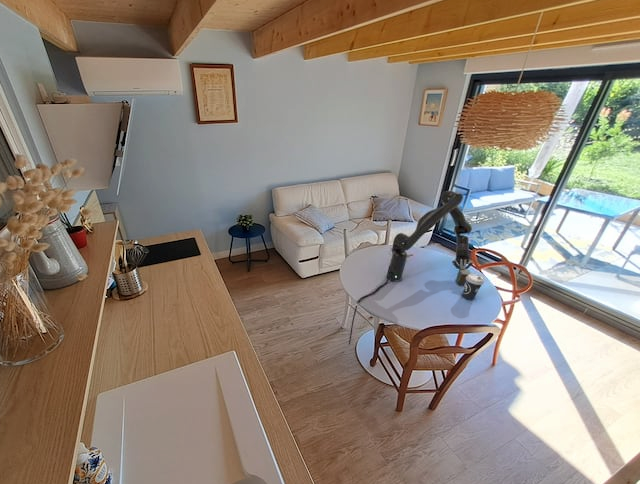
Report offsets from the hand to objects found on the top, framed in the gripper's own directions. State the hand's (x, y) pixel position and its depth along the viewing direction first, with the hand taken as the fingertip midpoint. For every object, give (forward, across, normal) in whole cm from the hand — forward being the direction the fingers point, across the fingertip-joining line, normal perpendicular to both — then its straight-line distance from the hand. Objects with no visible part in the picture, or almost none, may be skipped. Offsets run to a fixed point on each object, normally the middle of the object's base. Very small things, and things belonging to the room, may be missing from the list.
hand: (462, 274), depth 195 cm
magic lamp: (-8, -38, +15) cm, 42 cm away
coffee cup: (+17, 0, -10) cm, 20 cm away
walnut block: (+6, 0, +1) cm, 6 cm away
